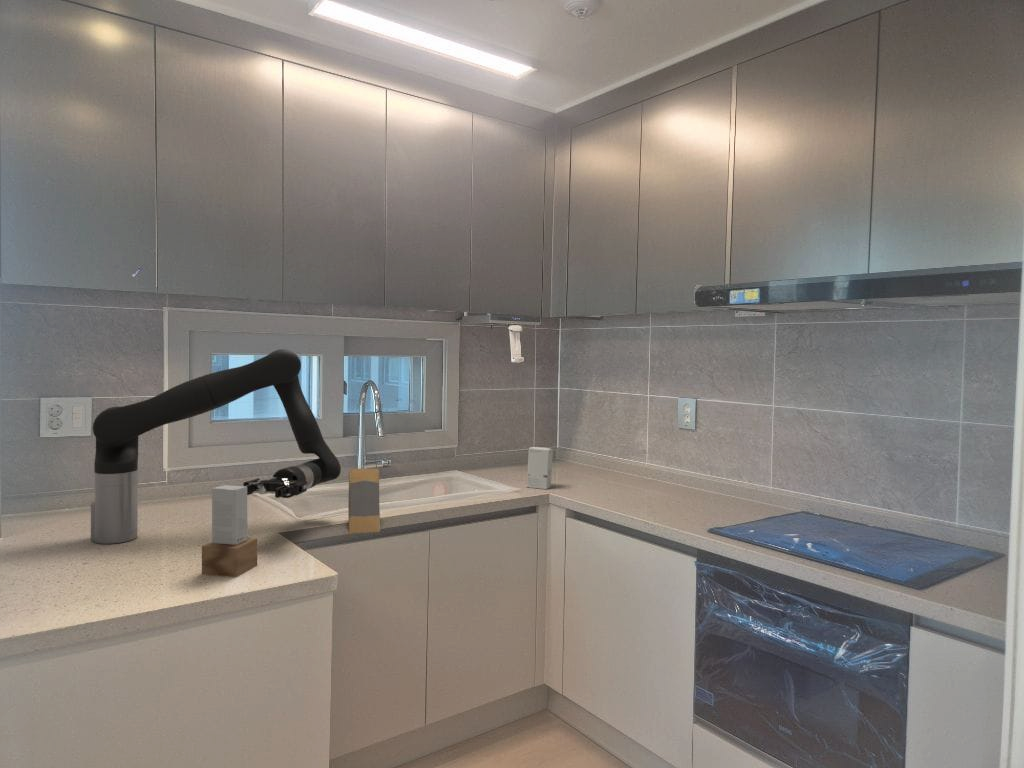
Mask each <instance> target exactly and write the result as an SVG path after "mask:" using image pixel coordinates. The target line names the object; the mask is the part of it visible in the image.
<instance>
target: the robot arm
mask: <svg viewBox="0 0 1024 768" xmlns="http://www.w3.org/2000/svg"><path fill="white" fill-rule="evenodd" d="M301 368H302V362H301V359H300V358H299V356H298V355H297V354H296V353H295V352H294V351H292V350H290V349H284V348H282V349H276V350H274V351H271V352H270V353H268V354H267V355H265V356H263V357H261V358H259V359H256V360H253V361H251V362H250V363H247V364H244V365H241V366H237V367H232V368H228V369H222V370H218V371H214V372H211V373H208V374H207V373H206V374H204V375H202V376H199V377H195V378H193V379H190V380H186V381H184V382H183V383H180V384H178V385H175V386H174V387H171V388H169V389H167V390H165V391H163V392H161V393H159V394H157V395H156V396H153V397H151V398H148V399H145V400H141V401H139V402H135V403H131V404H128V405H123V406H119V405H118V406H111V407H108V408H106V409H104V410H102V411H101V412H100V413H99V414H98V415H96V417H95V419H94V420H93V423H92V432H93V435H94V437H95V455H94V469H93V470H94V471H93V473H94V476H93V477H94V480H93V481H94V483H93V484H94V485H93V486H94V489H93V490H94V501H93V502H91V503H90V541H91V542H94V543H96V544H101V545H102V544H108V545H109V544H119V543H125V542H130V541H134V540H135V539H137V538H138V537H139V536H138V530H139V529H138V521H139V520H138V515H139V514H138V512H139V511H138V510H139V509H138V508H139V507H138V503H139V502H138V499H139V497H138V490H139V489H138V488H139V487H138V486H139V485H138V483H139V482H138V479H139V477H138V473H139V472H138V462H139V437H140V436H142V435H143V434H146V433H148V432H150V431H152V430H155V429H157V428H158V427H161V426H162V427H163V426H165V425H168V424H171V423H176V422H179V421H182V420H187V419H191V418H192V417H196V416H199V415H204V414H205V413H207V412H211V411H213V410H216V409H218V408H221V407H223V406H225V405H229V404H230V403H232V402H235V401H237V400H239V399H241V398H242V397H245V396H247V395H249V394H250V393H253V392H255V391H258V390H262V389H264V388H265V389H266V388H269V387H272V386H273V388H274V389H275V391H276V393H277V395H278V397H279V399H280V401H281V404H282V406H283V407H284V411H285V413H286V416H287V418H288V421H289V424H290V428H291V430H292V433H293V436H294V439H295V441H296V443H297V447H298V449H299V451H300V452H301V454H308V455H309V454H310V455H311V454H312V455H316V457H318V458H316V459H312V460H308V461H306V462H303V463H299V464H293V465H290V466H287V467H283V468H280V469H278V470H277V471H276V472H275V473H273V475H272V477H268V478H263V479H261V478H258V477H257V478H254V479H251V480H248V481H244V482H242V483H243V485H242V486H246V487H247V496H250V495H253V494H259V495H266V494H270V495H273V494H274V497H275V498H277V499H279V498H282V499H289V498H292V497H295V496H296V497H297V496H298V495H302V494H303V493H305V492H307V490H309V489H311V488H313V487H316V486H317V485H320V484H323V483H327V482H330V481H334V480H335V479H338V478H339V476H340V475H341V470H342V467H341V464H340V461H339V459H338V457H337V456H336V455H335V454H334V453H333V451H332V449H331V448H330V446H328V444H327V443H326V441H325V439H324V437H323V435H322V432H321V429H320V426H319V424H318V422H317V419H316V417H315V415H314V413H313V411H312V409H311V407H310V406H309V403H308V402H307V400H306V398H305V396H304V393H303V390H302V387H301V383H300V379H299V374H300V371H301V370H302V369H301ZM263 489H264V490H263Z"/></svg>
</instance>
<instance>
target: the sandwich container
mask: <svg viewBox="0 0 1024 768" xmlns="http://www.w3.org/2000/svg"><path fill="white" fill-rule="evenodd" d="M348 475H349V476H348V505H347V506H348V534H360V533H361V534H363V533H378V532H381V520H380V519H381V514H380V509H381V508H380V469H379V468H365V467H364V468H363V467H362V468H349V474H348Z"/></svg>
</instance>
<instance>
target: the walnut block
mask: <svg viewBox="0 0 1024 768" xmlns="http://www.w3.org/2000/svg"><path fill="white" fill-rule="evenodd" d="M256 566H258V538H257V537H255V538H254V537H247V541H244V542H242V543H239V544H237V545H228V544H216V543H212V541H211V542H208V543H206V544H203V545H202V546H201V575H206V576H207V575H208V576H216V577H217V576H219V577H234V578H238V577H239V576H241V575H243V574H244V573H246V572H247V571H250V570H252V569H253V568H255V567H256Z"/></svg>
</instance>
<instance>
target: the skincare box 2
mask: <svg viewBox="0 0 1024 768" xmlns="http://www.w3.org/2000/svg"><path fill="white" fill-rule="evenodd" d="M553 453H554V449H553V448H549V447H541V446H532V447H531V446H530V447H529V448H528V454H527V455H528V456H527V471H526V472H527V474H526V488H527V487H529V488H528V489H541V490H542V489H543V490H548V489H549V488H552V474H553V473H552V472H553V471H552V470H553V458H554V457H553V455H554V454H553Z"/></svg>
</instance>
